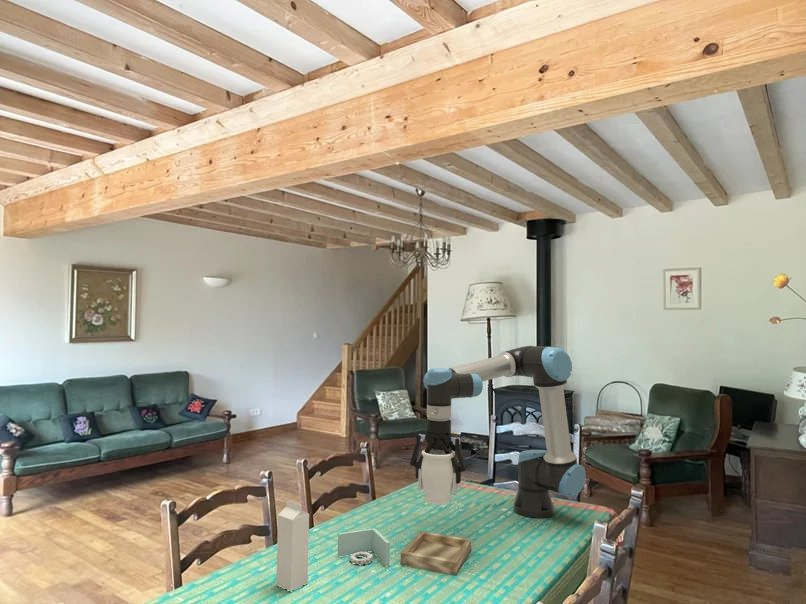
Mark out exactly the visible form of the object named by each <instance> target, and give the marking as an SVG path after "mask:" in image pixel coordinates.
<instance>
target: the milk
mask: <svg viewBox="0 0 806 604" xmlns="http://www.w3.org/2000/svg"><path fill="white" fill-rule="evenodd" d="M302 507H303V506H302V504H301V503H298V502H297V503H296V502H294V501H290V500H287V501H286V506H285V507H284V508H283V509H282V510H281V511H280V512H279V513H278V516H277V539H276V542H277V546H276V579H275V580H276V581H275V585H276V584H277V585H279V586H281V587H283V588H285V589H287V590H290V591H292V590H294V589H296V588H299V587H301V586H302V585H304V584H306V583H308V582H309V581H308V580H309V575H308V574H309V573H308V572H309V543H310V541H309V539H310V538H309V537H310V536H309V534H310V513H308V512H306V511H303V510H302ZM301 588H302V587H301ZM299 589H300V588H299Z"/></svg>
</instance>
